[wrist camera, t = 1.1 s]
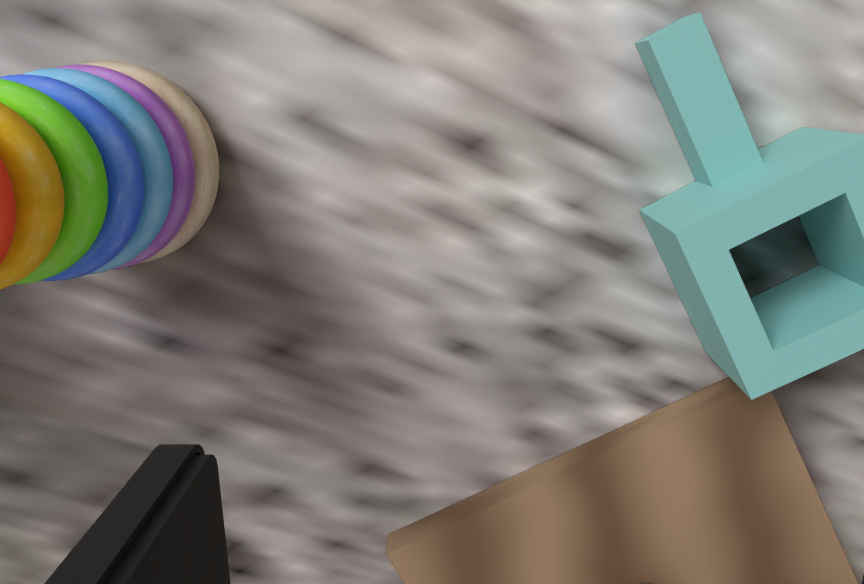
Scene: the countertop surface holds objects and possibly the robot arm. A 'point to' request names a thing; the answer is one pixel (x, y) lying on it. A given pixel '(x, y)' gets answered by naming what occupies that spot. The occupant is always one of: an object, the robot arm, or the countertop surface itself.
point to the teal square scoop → (755, 222)
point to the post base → (644, 509)
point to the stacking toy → (98, 170)
